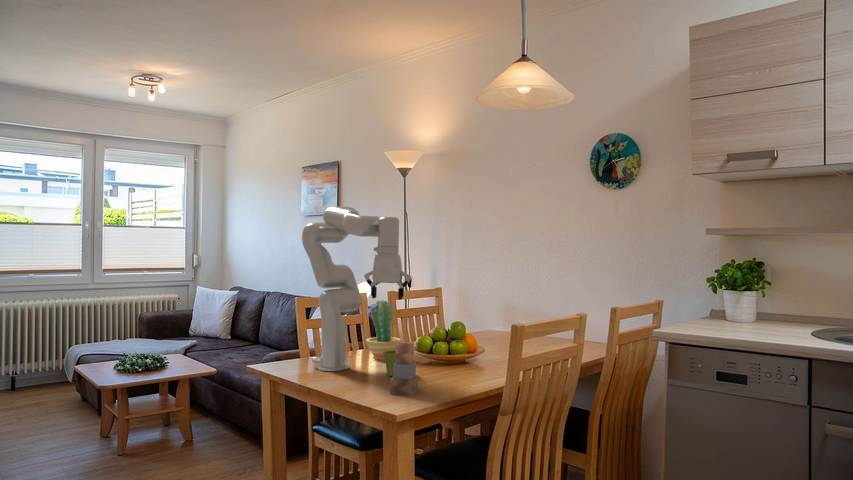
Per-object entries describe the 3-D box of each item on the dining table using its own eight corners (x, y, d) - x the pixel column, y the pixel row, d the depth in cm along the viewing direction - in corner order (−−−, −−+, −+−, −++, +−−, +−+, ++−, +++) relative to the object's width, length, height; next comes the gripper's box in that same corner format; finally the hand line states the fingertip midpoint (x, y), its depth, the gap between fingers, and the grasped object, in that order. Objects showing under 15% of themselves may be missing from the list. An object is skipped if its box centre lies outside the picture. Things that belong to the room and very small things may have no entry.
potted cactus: (370, 354, 265) (370, 298, 265) (403, 354, 263) (403, 299, 263) (361, 360, 250) (361, 302, 250) (397, 361, 247) (397, 302, 248)
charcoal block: (393, 378, 195) (393, 363, 195) (398, 375, 201) (398, 360, 201) (410, 380, 193) (410, 364, 193) (415, 376, 199) (415, 361, 199)
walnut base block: (389, 394, 194) (389, 379, 194) (395, 388, 202) (395, 374, 202) (413, 395, 193) (413, 380, 193) (418, 389, 200) (418, 375, 200)
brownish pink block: (395, 363, 196) (395, 345, 196) (399, 360, 201) (399, 342, 201) (409, 364, 195) (409, 346, 195) (413, 361, 200) (413, 343, 200)
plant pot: (388, 378, 216) (388, 355, 216) (378, 373, 224) (378, 351, 224) (411, 376, 220) (411, 353, 220) (400, 371, 229) (400, 349, 229)
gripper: (361, 250, 209) (361, 298, 209) (409, 252, 205) (408, 300, 206) (368, 250, 216) (367, 296, 216) (413, 251, 213) (412, 298, 213)
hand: (387, 298), depth 211 cm, fingers open, 9 cm apart
